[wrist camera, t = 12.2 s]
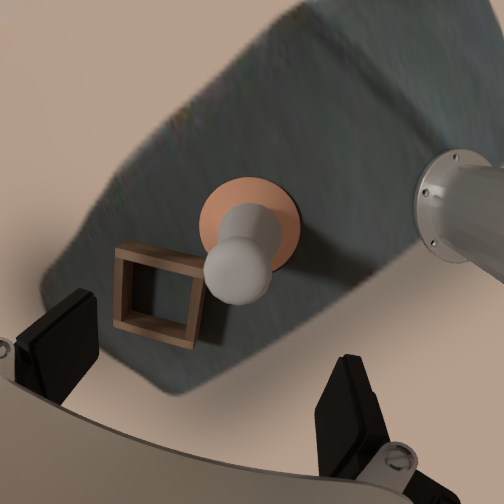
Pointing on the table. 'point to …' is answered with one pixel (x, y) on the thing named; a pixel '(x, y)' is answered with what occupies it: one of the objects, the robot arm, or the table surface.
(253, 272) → the salt shaker
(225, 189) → the orange round disc
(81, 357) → the robot arm
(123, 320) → the square wooden frame
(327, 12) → the table surface
